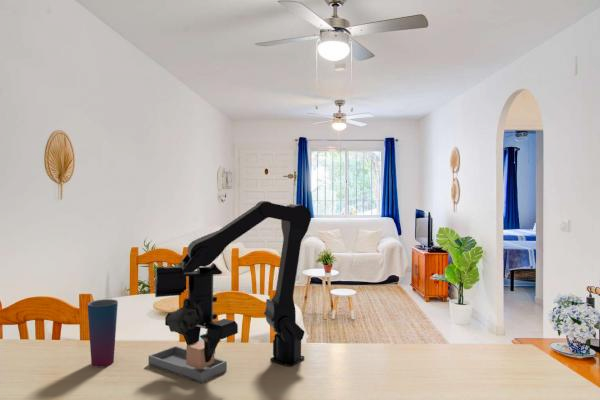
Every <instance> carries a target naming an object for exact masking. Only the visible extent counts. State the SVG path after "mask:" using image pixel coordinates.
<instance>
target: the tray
mask: <svg viewBox="0 0 600 400" xmlns="http://www.w3.org/2000/svg"><path fill="white" fill-rule="evenodd" d="M186 361H187V348H183V347H180V346H177V345H174V346H171V347H169V348H167V349H163V350H161V351H157V352H156V353H152V354H149V355H148V365H149V366H151V367H152V368H153V367H154V368H157V369H159V370H162V371H165V372H168V373H171V374H173V375H176V376H179V377H182V378H185V379H186V380H191V381H193V382H195V383H196V382H197V383H199V384H202V383H204V382H206V381H208V380H211V379H212V378H214V377H216V376H218V375H221V374H224V373H225V372H226V371H227V367H228V366H227V365H228V364H227V363H228V362H227V361H226V360H223V359H219V358H217V357H214V363H213V364H211V365H208V366H206V367H204V368H202V369H198V368H195V367H192V366H189V365H186Z"/></svg>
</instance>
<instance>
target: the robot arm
mask: <svg viewBox="0 0 600 400" xmlns="http://www.w3.org/2000/svg"><path fill="white" fill-rule="evenodd" d="M268 218H269V219H275V220H280V222H281V223H280V224H281V231H282V236H283V240H282V246H281V247H282V248H281V254H280V262H279V268H278V274H277V281H276V288H275V292H274V295H273V297H272V299H268V298H267V299H266V301H265V311H264V312H263V315H264V316H265V320H266V323H267V324H268V325H269V326H270V327H271V328H272V330H273V332H274V333H275V334H274V335H273V338H274V339H273V340H272V355H273V356H272V357H271V358H270V359H269V360H270V361H271V362H274V363H278V364H282V365H284V366H285V365H286V366H289V367H292V366H294V365H297V364H298V363H299V362H300V361H303V360H304V359H305V356H304V355H302V340H303V338H304V335H305V330H304V329H302V327H300V326H299V325H298V324H297V323H296V322H297V321H296V318H297V317H296V314H297V313H296V311H297V310H296V306H295V301H294V293H295V286H296V279H297V272H298V265H299V260H300V253H301V247H302V241H303V240H304V237H305V236H306V234H307V232H308V231H309V227H310V224H311V220H312V213H311V211H310V209H309V208H308V207H307V206H305V205H301V204H288V205H283V204H282V205H281V204H277V203H272V202H271V201H267V200H261V201H259V202H256V204H255V205H254V206H253V207H251V208H249V209H248V210H247V211H246V212H244V213H242V214H241V215H239V216H238V217H236V218H235V219H233V220H232V221H230V222H229V223H227V224H226V225H225V226H223V227H221V228H220V229H218V230H216V231H214V232H210V233H208V234H206V235H204V236H201V237H199V238H197V239H196V238H195V239H194V240H192V241H191V242H190V243H189V244H188V246H187V251H186V252H187V254H186V255H185V256H184V257H183V259H182V260H181V261H180V263H179V264H178V266H177V265H176V266H161V265H159V266H156V267H155V278H154V297H155V298H162V297H173V296H175V297H176V296H182V293H185V291H187V290H188V291H187V292H188V293H187V295H188V297H187V298H186V297H185V298H183V303H182V304H183V305H182V307H180V308H178V309H177V310H175V311H170V312H168V313H167V315H165V317H164V318H165V319H164V322H165V323H164V324H165V325H164V326H167V327H168V328H169V331H170V332H171V333H177V334H178V335H181V336H183V338H184V341H185V343H186V346H187V345H190V344H192V343H195V342H198V341H199V336H200V335H201V329H205V330H206V332H205V333H203V334H204V335H201V336H200V337H201V338H202V339H203V340H204V350H205V361H206V362H209V361H210V360H211V357H212V355H213V353H214V351H215V352H216V349H217V346H218V344H219V343H220V341H221V340H224V339H227V338H230V337H231V336H234V335H237V334H238V333H239V332H238V331H239V326H238V325H239V324H238V323H237V322H236V321H235V320H233V319H227V318H222V319H219V320H216V319H217V317H218V316H217V313H214V303H215V302H217V301H218V300H217V299H218V297H217V296H214V276H215V275H221V274H223V272H222V270H221V269H220V268H218V266H217V264H216V263H213V262H214V261H216V259H218V258H219V256H220V255H221V254H222V253H223V251H225V249H227V247H228V246H229V245H230V244H232V243H233V242H234V241H236V240H237V239H239V238H240V237H241V236H243V235H244V234H246V233H248V231H250V230H252V229H253V228H254V227H256V226H257V225H259V224H260V223H262V222H264V220H266V219H268ZM187 277H188V279H187ZM187 280H188V281H187ZM187 282H188V283H187ZM187 284H188V286H187ZM214 320H216V321H214Z"/></svg>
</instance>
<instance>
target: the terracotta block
mask: <svg viewBox="0 0 600 400" xmlns="http://www.w3.org/2000/svg"><path fill="white" fill-rule="evenodd" d="M186 349H187V361H186V365H189V366H192V367H195V368H198V369H202V368H204V367H206V366H208V365H211V364H213V363H214V358H215V354H214V353H213V355H212V357H211V360H210V361H209V362H206V361H205V350H204V341H201V340H200V341H198V342H195V343H192V344H190V345H187V344H186Z"/></svg>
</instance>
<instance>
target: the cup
mask: <svg viewBox="0 0 600 400" xmlns="http://www.w3.org/2000/svg"><path fill="white" fill-rule="evenodd" d="M118 304H119V301H118V300H117V299H111V298H110V299H108V298H107V299H106V298H104V299H96V300H92V301H89V302H88V303H87V314H88V315H87V318H88V330H89V331H88V332H89V335H88V336H89V349H90V362H91V366H92V367H93V368H94V367H95V368H103V367H108V366H110V365H113V363H114V362H115V347H116V335H117V334H116V333H117V320H118V319H117V318H118V307H119V306H118Z"/></svg>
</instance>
